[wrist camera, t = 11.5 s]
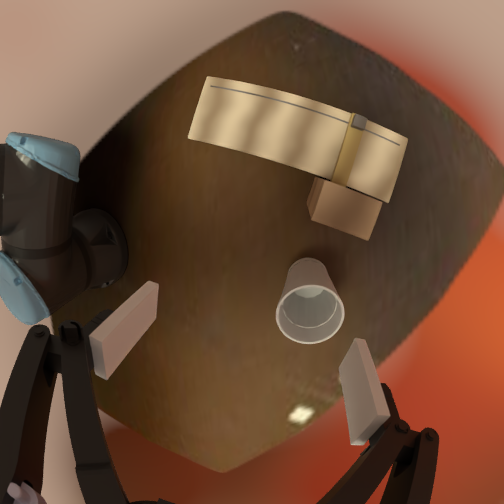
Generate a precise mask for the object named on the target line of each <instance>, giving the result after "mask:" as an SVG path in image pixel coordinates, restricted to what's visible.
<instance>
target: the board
mask: <svg viewBox="0 0 504 504" xmlns="http://www.w3.org/2000/svg"><path fill="white" fill-rule="evenodd" d="M350 116H351V113H348V112H346V111H343V110H340V109H337V108H335V107H332V106H329V105H326V104H323V103H320V102H317V101H314V100H311V99H307V98H304V97H301V96H297V95H294V94H290V93H287V92H283V91H279V90H275V89H271V88H267V87H263V86H258V85H254V84H249V83H244V82H239V81H234V80H228V79H222V78H216V77H209V76H207V79H206V81H205V84H204V87H203V90H202V93H201V96H200V99H199V102H198V105H197V109H196V112H195V115H194V118H193V122H192V125H191V128H190V132H189V135H188V139H192V140H197V141H201V142H206V143H210V144H214V145H218V146H222V147H226V148H230V149H234V150H237V151H241V152H245V153H248V154H252V155H255V156H259V157H262V158H266V159H269V160H272V161H276V162H279V163H282V164H285V165H288V166H291V167H295V168H298V169H301V170H304V171H307V172H309V173H312V174H315V175H318V176H321V177H324V178H326V179H329V180H331V178H332V174H333V171H334V168H335V165H336V162H337V159H338V156H339V152H340V149H341V146H342V143H343V139H344V136H345V133H346V129H347V126H348V123H349V119H350ZM407 141H408V139H407V138H405V137H403V136H401V135H399V134H397V133H395V132H393V131H391V130H389V129H386V128H384V127H382V126H380V125H377V124H375V123H373V122H371V121H368V120H367V123H366V127H365V130H364V131H363V134H362V137H361V141H360V144H359V147H358V151H357V154H356V157H355V160H354V164H353V167H352V170H351V173H350V176H349V179H348V182H347V185H346V186H348V187H350V188H353V189H356V190H358V191H361V192H363V193H366V194H368V195H370V196H373V197H375V198H378V199H380V200H382V201H385V202H387V203H389V200H390V197H391V194H392V191H393V188H394V185H395V182H396V179H397V176H398V173H399V169H400V166H401V163H402V159H403V156H404V152H405V149H406V145H407Z"/></svg>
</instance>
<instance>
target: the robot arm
mask: <svg viewBox="0 0 504 504" xmlns="http://www.w3.org/2000/svg"><path fill="white" fill-rule="evenodd" d="M79 164H80V152H79V150H78V148H77V147H76V146H74V145H72V144H70V143H66V142H63V141H59V140H55V139H51V138H47V137H42V136H37V135H31V134H25V133H17V132H11V133H9V134H8V137H7V138H6V144H0V236H1V240H2V250H1V251H0V296H1V298H2V300H3V301H4V303H5V305H6V306H7V308H8V309H9V310H10V311H11V313H12V314H13V315H14V316H15V317H16V318H17V319H18V320H20V321H21V322H23V323H24V324H27V325H33V324H36V323H38V322H39V321H41V320H43V319H44V318H48V317H49V316H50V315H51V314H53V313H54V312H55V311H57V310H58V309H60V308H61V307H62V306H64V305H65V304H66V303H68V302H69V301H71V300H72V299H73V298H75V297H76V296H78V295H79V294H81V293H82V292H83V291H85V290H89V289H96V288H103V287H107V286H109V285H111V284H113V283H114V282H116V281H117V280H119V279H120V278H121V277H122V275H123V274H124V272H125V269H126V266H127V262H128V248H127V243H126V239H125V236H124V234H123V231H122V229H121V228H120V226H119V224H118V223H117V222H116V220H115V219H114V218H113V217H112V216H111V215H110V214H108V213H107V212H105V211H103V210H101V209H96V208H92V209H88V210H84V211H81V212H79V213H77V214H76V215H75V216H74V217H73V212H74V203H75V195H76V188H77V182H79V178H78V172H79ZM158 288H159V284H157V283H154V282H151V281H148V282H146V283H145V284H144V285H143V286H142V287H141V288H140V289H139V290H137V291H136V292H135V293H134V294H133V295H132V296H131V297H130V298H129V299H127V300H126V301H125V302H124V303H123V304H122V305H121V306H120V307H119V308H118V309H117V310H116V311H111V310H109V309H107V310H104V311H102V312H100V313H99V314H98V315H96V316H95V317H94V318H93V319H92V320H91V321H90V322H88V323H87V324H86V325H85V326H84V327H82V325H81V324H80V323H79V322H77V321H75V320H66V321H64V322H62V323H61V324H60V325H59V327H58V330H59V335H60V337H59V336H55V335H52V334H50V330H49V328H48V327H47V326H45V325H34V326H33V327H31V329H30V330H29V332H28V334H27V336H26V338H25V340H24V343H23V345H22V347H21V350H20V352H19V355H18V357H17V360H16V362H15V365H14V367H13V370H12V373H11V376H10V378H9V381H8V384H7V387H6V390H5V394H4V397H3V400H2V404H1V407H0V504H47V503H46V502H45V500H44V498H43V497H42V496H41V490H42V483H43V466H44V452H45V442H46V433H47V426H48V419H49V413H50V407H51V402H52V397H53V392H54V387H55V383H56V378H57V374H58V373H61V374H62V380H63V392H64V401H65V409H66V416H67V422H68V428H69V433H70V438H71V444H72V448H73V453H74V457H75V461H76V468H75V469H76V474H77V478H78V482H79V485H80V488H81V491H82V494H83V497H84V500H85V503H86V504H174V503H171V502H168V501H165V500H163V499H160V498H159V500H158V502H156V501H135V502H131V503H130V502H129V500H128V498H127V496H126V494H125V491H124V490H123V487H122V485H121V482H120V480H119V477H118V475H117V472H116V470H115V466H114V464H113V461H112V458H111V455H110V452H109V449H108V445H107V442H106V439H105V436H104V432H103V428H102V425H101V421H100V417H99V413H98V408H97V404H96V400H95V395H94V390H93V385H92V379H91V374H90V371H91V370H92V369H93V367H94V370H95V374H96V375H98V376H100V377H102V378H104V379H106V380H107V379H108V378H109V377H110V376H111V374H112V373H113V372H114V370H115V369H116V368H117V367H118V365H119V364H120V363H121V361H122V360H123V359H124V358H125V356H126V355H127V354H128V353H129V351H130V350H131V349H132V348H133V346H134V345H135V344H136V342H137V341H138V340H139V339H140V338H141V336H142V335H143V334H144V333H145V331H146V330H147V329H148V328H149V326H150V325H151V324H152V323H153V321H154V320H155V319H156V311H157V299H158ZM339 373H340V379H341V384H342V390H343V396H344V402H345V408H346V414H347V420H348V427H349V434H350V441H351V445H364V444H365V443H366V441H367V440H369V443H370V445H369V446H368V447H367V448H366V449H365V450H364V451H363V452H362V453H361V454H360V455H361V456H360V457H359V458H358V459H357V461H356V462H355V463H354V464H353V465H352V466H351V468H350V469H349V470H348V471H347V472H346V474H345V475H344V476H343V477H342V478H341V479H340V480H339V481H338V482H337V483H336V484H335V485H334V487H333V488H332V489H331V490H330V491H329V492H328V493H327V494H326V495H325V496H324V497H323V498H322V499H321V500H320V501H319V502H317V504H365V503H366V502H367V500H368V499H369V498H370V496H371V495H372V494H373V492H374V491H375V489H376V488H377V487H378V485H379V484H380V482H381V481H382V479H383V478H384V476H385V475H386V473H387V472H388V470H389V469H390V467H391V466H392V464H393V466H392V470H391V473H390V476H389V479H388V482H387V485H386V488H385V491H384V494H383V496H382V499H381V502H380V504H430V499H431V494H432V489H433V484H434V477H435V472H436V465H437V456H438V446H439V435H438V434H437V432H436V431H435V430H434V429H432V428H425V429H423V430H422V431H421V432H416V431H413V430H410V427H409V425H408V424H407V423H406V422H405V421H404V420H401V419H400V417H399V414H398V411H397V408H396V405H395V402H394V399H393V397H392V393H391V390H390V389H389V387H388V386H387V385H386V384H385V383H380V381H379V378H378V375H377V372H376V369H375V366H374V363H373V360H372V357H371V355H370V352H369V349H368V346H367V344H366V341H365V340H364V339H359V338H355V339H354V341H353V343H352V345H351V347H350V348H349V350H348V352H347V354H346V356H345V358H344V359H343V361H342V363H341V365H340V366H339Z"/></svg>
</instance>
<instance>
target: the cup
mask: <svg viewBox="0 0 504 504" xmlns="http://www.w3.org/2000/svg"><path fill="white" fill-rule="evenodd" d="M343 319H344V306H343V303H342V301H341V299H340V297H339V295H338V293H337V291H336V289H335V287H334V285H333V283H332V281H331V279H330V277H329V275H328V273H327V269H326V267H325V266H324V265H323V263H321V262H320V261H319V260H317V259H314V258H302V259H299V260H297V261H296V262H294V263H293V264H292V265H291V267H290V268H289V271H288V275H287V279H286V282H285V286H284V289H283V292H282V295H281V298H280V301H279V304H278V306H277V310H276V321H277V324H278V327H279V329H280V330H281V332H282V333H283V334H284V335H285V336H286V337H288V338H289V339H291V340H293V341H295V342H298V343H303V344H314V343H319V342H322V341H325V340H327V339H329V338H330V337H332V336H333V335H334V334H335V333H336V332H337V331H338V330H339V328H340V327H341V325H342V323H343Z"/></svg>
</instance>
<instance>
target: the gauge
mask: <svg viewBox="0 0 504 504" xmlns="http://www.w3.org/2000/svg"><path fill="white" fill-rule="evenodd" d="M367 119H368V118H365V117H363V116H361V115H358V114H355V113H352V114H351V116H350V119H349V123H348V126H347V129H346V133H345V136H344V139H343V143H342V146H341V149H340V152H339V156H338V159H337V162H336V165H335V168H334V171H333V174H332V178H331V181H327V180H324V179H321V178H318V177H315V178H314V181H313V184H312V187H311V190H310V193H309V196H308V199H307V202H306V203H307V207H308V210H309V213H310V217H311V220H313V221H315V222H318V223H321V224H324V225H327V226H329V227H332V228H335V229H338V230H341V231H343V232H346V233H349V234H351V235H354V236H357V237H359V238H362V239H365V240H367V241H368V240H369V238H370V235H371V233H372V230H373V227H374V225H375V222H376V220H377V217H378V214H379V211H380V209H381V206H382V203H383V202H380V201H378V200H376V199H373V198H371V197H368V196H366V195H363V194H361V193H358V192H356V191H353V190H351V189H348V188H346V185H347V182H348V179H349V176H350V173H351V170H352V167H353V164H354V160H355V157H356V154H357V151H358V147H359V144H360V141H361V137H362V134H363V131H364V130H365V127H366V123H367Z"/></svg>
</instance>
